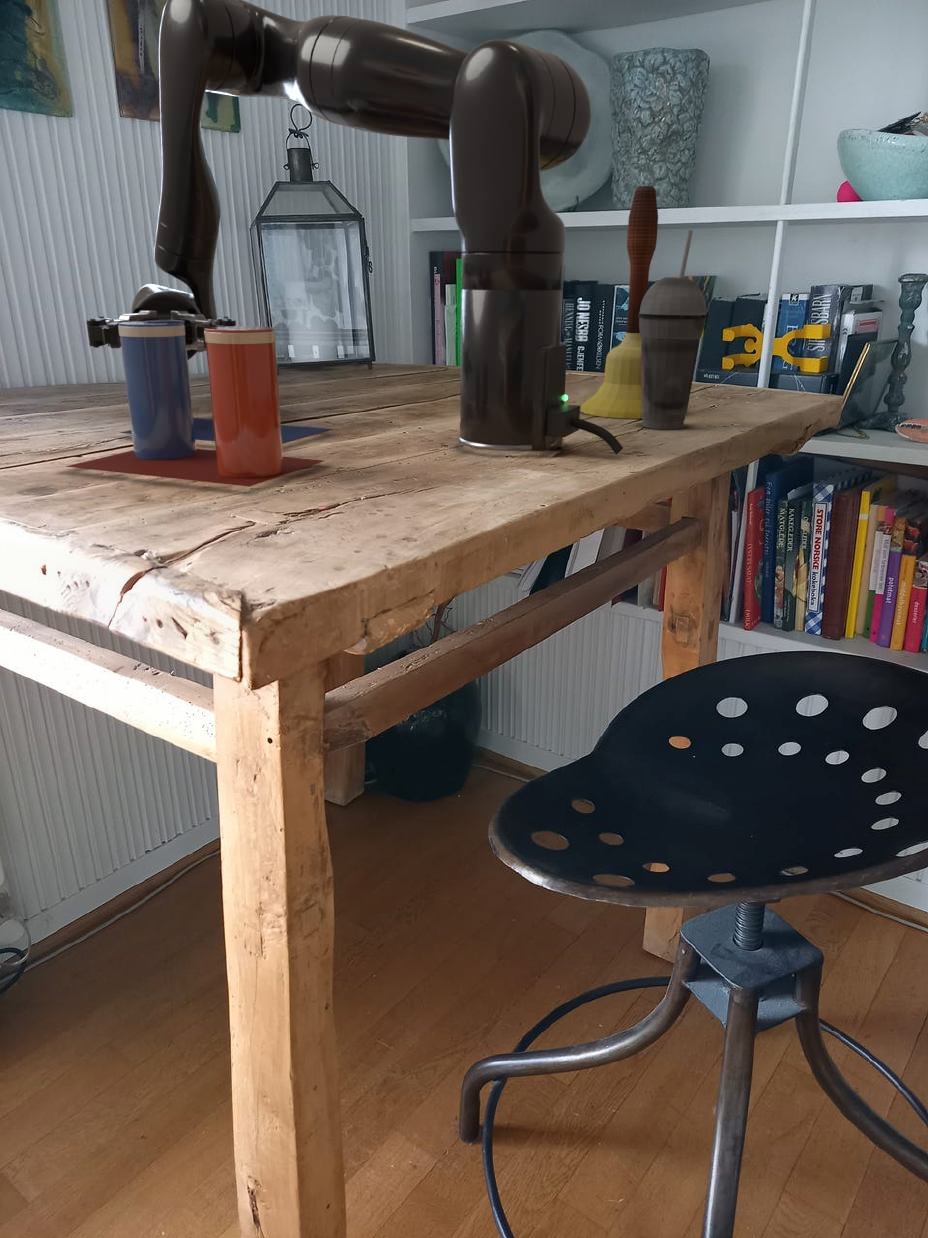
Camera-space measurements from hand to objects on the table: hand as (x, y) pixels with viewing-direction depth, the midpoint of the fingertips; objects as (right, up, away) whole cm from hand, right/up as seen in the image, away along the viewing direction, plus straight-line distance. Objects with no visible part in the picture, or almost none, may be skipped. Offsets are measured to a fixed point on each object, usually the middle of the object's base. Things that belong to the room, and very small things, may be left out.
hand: (160, 336), depth 86 cm
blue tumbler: (+3, -13, -7) cm, 15 cm away
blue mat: (+5, -8, +6) cm, 11 cm away
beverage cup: (+51, -6, +14) cm, 53 cm away
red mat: (+7, -14, -10) cm, 19 cm away
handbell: (+49, -2, +25) cm, 55 cm away
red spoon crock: (+12, -15, -13) cm, 23 cm away
